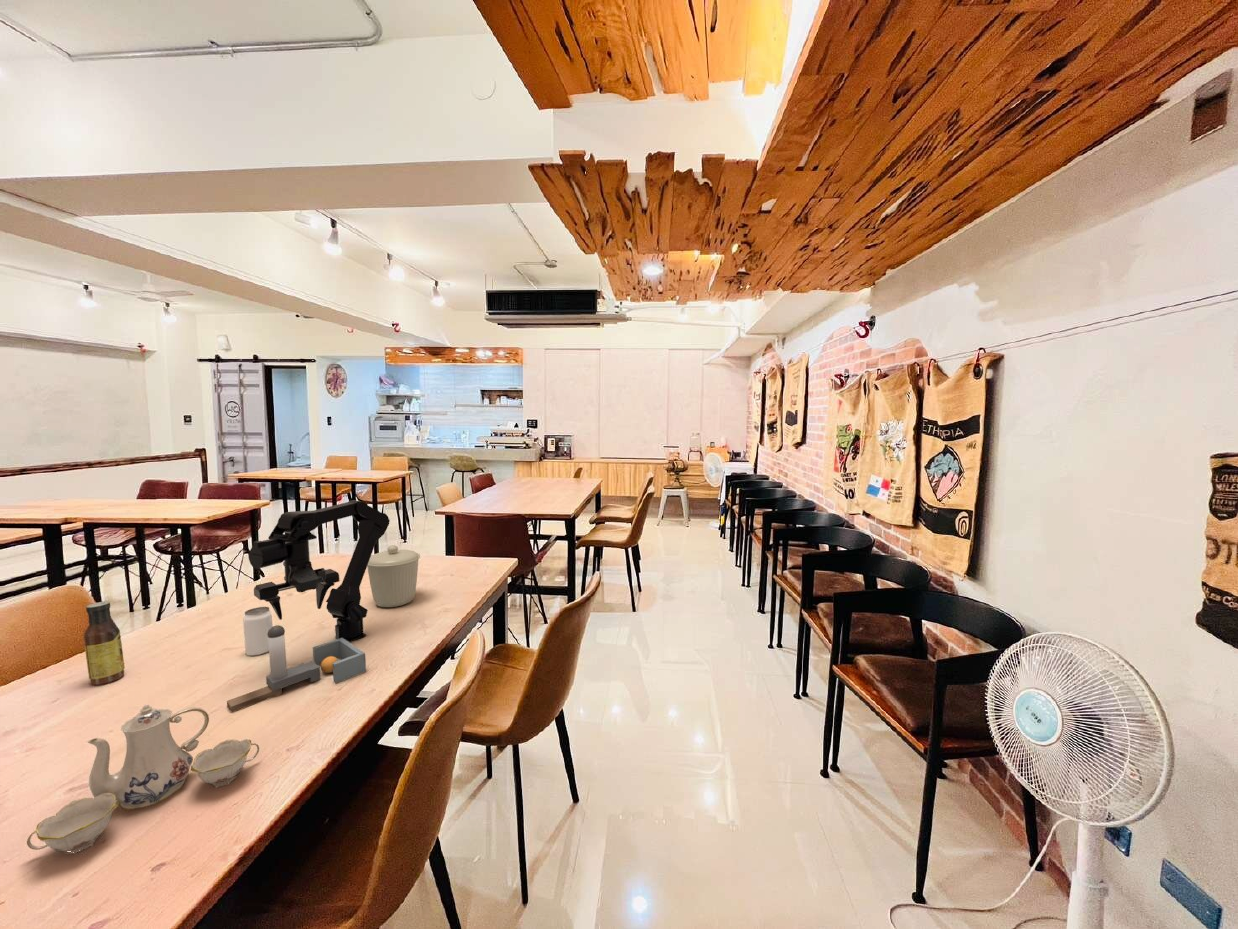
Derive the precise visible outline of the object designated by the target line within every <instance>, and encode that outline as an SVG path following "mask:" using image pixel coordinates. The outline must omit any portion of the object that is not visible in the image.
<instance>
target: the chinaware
mask: <svg viewBox="0 0 1238 929" xmlns="http://www.w3.org/2000/svg"><path fill="white" fill-rule="evenodd" d="M190 712H199V713H201V714H202V715H203V717H204V723H203V725H202V726H201V729H200V730H199V731H198V732H197V733H196V734H195V735H193V737H191V738H189V739H188V740H185V741H184V742H183V743H182V744H181V746H180V745H179V744H178V743H177V742H176V741H175V739H174V737H173V735H172V732H171V727H170V726H171V725H170V723H171V724H173V723H175V724H179V723H180V722H181V721H182V720H183V718H182V716H179V715H182V714H186V713H190ZM209 722H210V717H209V713H208V712H207V711H206V710H205V709H203V708H201V707H188V708H185V709H182V710H180V711H177V712H176V713H174V714H173V710H172V709H169V708H165V709H164V708H159V709H158V708H153V707H152V706H150V705H149V704H145V705H143V706H142V708H141V709H140V710H139V713H137V714H136V715H134V717H132V718H130V719H128V720H127V721H125V722H124V723H123V724H122V725H121V726H120V731H122V732H123V734H124V736H125V741H126V752H125V758H124V762H123V766H122V767H121V769H120V770H119V771H117V772H116V773H113V774H110V770H109V768H110V759H111V758H110V755H111V749H110V744H109V742H108V741H107V740H106V739H104V738H98V737H95V738H92V739H89V740H88V744H90V745H93V746H94V747H96V754H95V757H94V760H93V761H94V762H93V764H92V767H91V770H90V774H89V778H88V786H89V790H90V792H91V794H92V796H93V797H94V798H93V797H91V798H90V797H83V798H79V799H77V800H73V801H70V802H69V803H68V804H66V805H64V806H63V807H62V808H61V809H59V811H58V812H56V814H55V815H52V816H49V817H46V818H44V819H43V820H42V821H41V822H39V823H38V824H36V828H35V830H34V831H33V832H31V834H29V836H28V837H27V840H26V845H27V846H28V848H29V849H32V850H35V851H36V850H37V851H39V850H43V849H45V848H47V847H48V848H50V849H51V850H53V851H59V852H67V851H71V852H74V853H76V854H78V853H79V852H78V851H79V850H82V851H83V849H84V850H86V849H88V848H89V846H90V847H93V846H94V843H95V842H96V841H97V839H98V838H99V837H100V836H99V835H101V834H102V833H103V831H104V830H105V829H106V828H107V826H108V825H109V823H110V820H111V818H112V815H113V812H114V810H115V809H116V808H117V807H118V805H119V806H120V808H121V809H123V810H127V811H128V810H129V811H130V810H131V811H133V810H134V811H135V810H139V809H143V808H147V807H150V806H153V805H156V804H157V803H160V802H162V801H164V800H166V799H168V798H169V797H171V796H172V795H174V794H175V793H176V792H178V791H179V790H180V789H181V788H183V786H184V785H185V782H186V781H187V780H186V779H187V776H188V775H189V773H190V771H191V772H193V773H197V775H198V777H199V779H201V780H202V781H203V782H204V783H207V784H211V785H213V786H214V787H215V789H217V788H219V787H223V786H226V785H230V783H231V782H232V781H233V780H234V779H236V778H237V777H238V776H237V775H238V773H240V771H241V770H243V769H244V766H245V765H246V764H245V763H247V762H252V761H253V760H254V759H255V758H256V757H257V756H258V754H259V752H260V746H259V745H258V744H257V743H255V742H252V740H251V739H243V740H241V741H240V740H238V739H235V738H233V739H226V740H224V741H221V742H220V743H218V744H217V745H216V746H214V747H213V748H210V749H205V750H203V751H200V752H199V753H198V754H196V756H195V757H193V756H192V754H190V753H189V752H192V751H194V750H195V749H196V748H198V745H199V740H198V739H197V738H199V737H200V736H201V735H203V733H204V732H205V731H206V729H207V727H208V725H209ZM252 746H255V747H256V752H255V753H254V755H253V756H252V757H250V758H249V759H247V758H248V754H249V752H250V751H251V748H252ZM34 834H36V837H37V839H38V840H40V841H41V842H42V843H43V842H44V843H45V845H43V846H37V845H33V843H32V841H31V839H32V836H33V835H34ZM77 852H78V853H77ZM74 853H73V854H74Z"/></svg>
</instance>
